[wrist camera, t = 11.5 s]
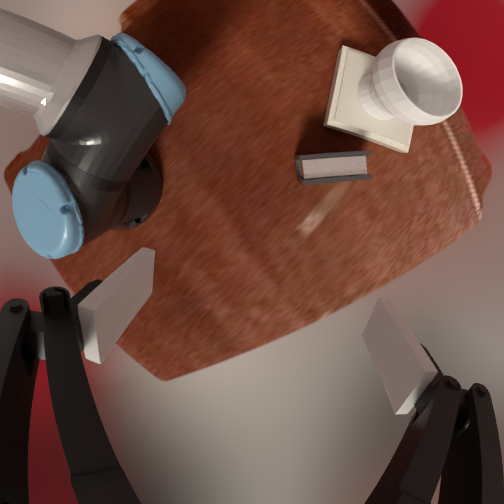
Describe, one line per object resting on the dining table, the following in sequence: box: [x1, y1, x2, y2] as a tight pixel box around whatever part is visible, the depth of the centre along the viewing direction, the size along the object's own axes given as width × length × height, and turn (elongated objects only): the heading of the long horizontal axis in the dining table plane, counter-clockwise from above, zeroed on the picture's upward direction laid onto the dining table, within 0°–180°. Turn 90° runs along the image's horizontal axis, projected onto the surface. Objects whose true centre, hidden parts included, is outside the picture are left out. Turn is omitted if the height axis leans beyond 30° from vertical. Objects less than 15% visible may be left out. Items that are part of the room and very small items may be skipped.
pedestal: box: [323, 45, 414, 153], centre depth 37 cm, size 14×14×4 cm
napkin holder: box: [294, 151, 372, 185], centre depth 40 cm, size 10×4×7 cm, turn 98°
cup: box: [358, 38, 462, 125], centre depth 28 cm, size 11×11×15 cm
